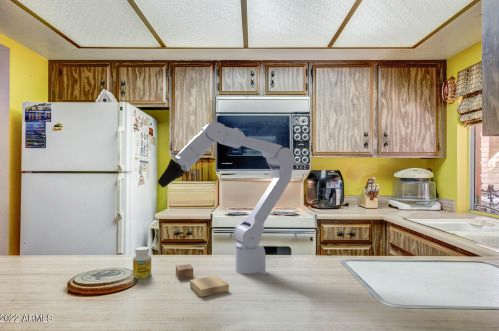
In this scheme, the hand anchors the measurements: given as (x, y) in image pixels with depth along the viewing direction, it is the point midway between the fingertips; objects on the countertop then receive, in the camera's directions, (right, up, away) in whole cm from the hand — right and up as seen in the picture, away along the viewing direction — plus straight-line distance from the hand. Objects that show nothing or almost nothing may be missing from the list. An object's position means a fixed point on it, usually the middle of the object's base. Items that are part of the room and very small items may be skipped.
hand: (160, 184), depth 91 cm
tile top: (+15, -28, -6) cm, 33 cm away
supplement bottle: (-7, -30, +4) cm, 31 cm away
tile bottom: (+15, -30, -6) cm, 34 cm away
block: (+6, -30, +4) cm, 31 cm away
